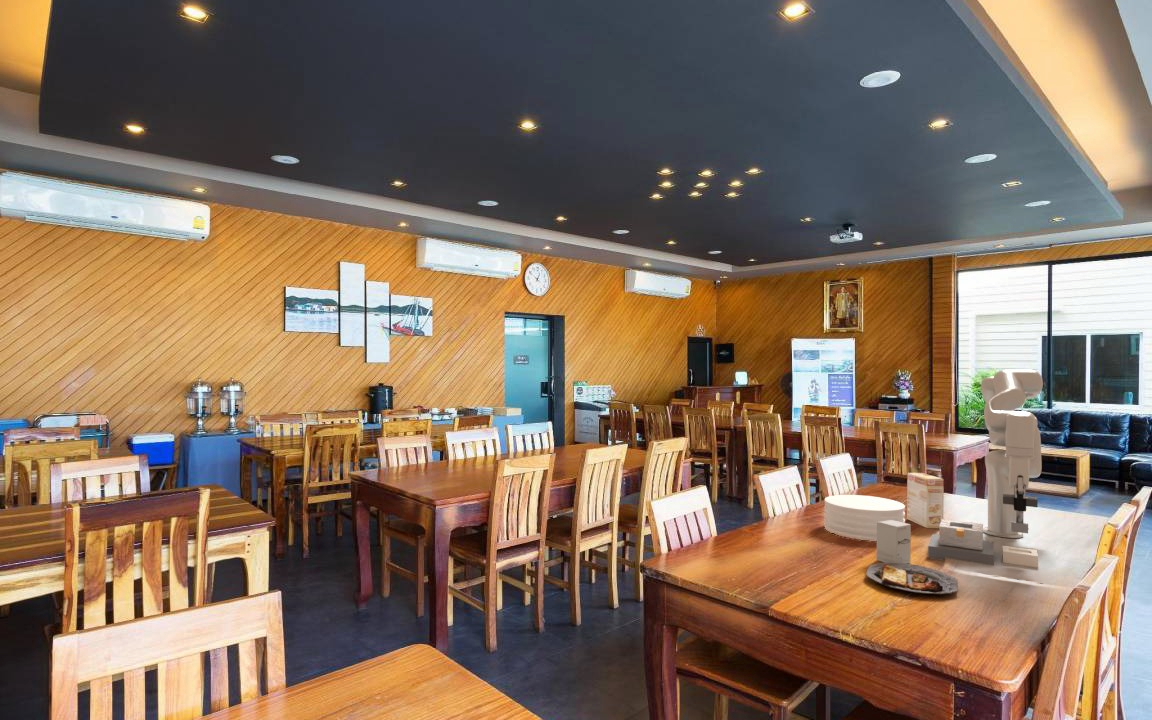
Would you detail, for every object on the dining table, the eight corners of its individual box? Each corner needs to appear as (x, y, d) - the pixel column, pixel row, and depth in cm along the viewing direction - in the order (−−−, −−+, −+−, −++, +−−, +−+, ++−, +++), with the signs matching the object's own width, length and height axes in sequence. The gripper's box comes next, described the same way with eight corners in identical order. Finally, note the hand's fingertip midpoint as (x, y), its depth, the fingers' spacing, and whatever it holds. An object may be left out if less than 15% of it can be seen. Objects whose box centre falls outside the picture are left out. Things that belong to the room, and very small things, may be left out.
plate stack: (908, 529, 243) (908, 500, 244) (901, 546, 220) (901, 514, 220) (831, 519, 258) (831, 492, 259) (817, 534, 235) (817, 504, 235)
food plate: (957, 606, 165) (957, 593, 165) (861, 589, 177) (861, 577, 177) (958, 579, 186) (958, 567, 186) (872, 566, 198) (872, 555, 198)
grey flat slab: (932, 545, 221) (932, 534, 221) (993, 554, 211) (993, 542, 211) (928, 558, 206) (928, 545, 206) (993, 568, 196) (993, 555, 196)
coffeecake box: (944, 528, 245) (944, 478, 245) (926, 528, 245) (926, 478, 245) (923, 519, 260) (923, 472, 260) (906, 519, 260) (906, 472, 260)
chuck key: (1002, 528, 205) (1002, 493, 205) (1036, 532, 200) (1036, 497, 200) (1002, 531, 201) (1002, 496, 201) (1037, 536, 196) (1037, 499, 196)
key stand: (1002, 559, 206) (1002, 545, 206) (1036, 564, 201) (1036, 550, 201) (1003, 565, 199) (1003, 551, 199) (1038, 570, 194) (1038, 556, 194)
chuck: (941, 536, 217) (941, 519, 217) (982, 541, 210) (982, 524, 210) (938, 546, 204) (938, 528, 205) (982, 552, 198) (982, 533, 198)
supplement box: (896, 566, 197) (896, 526, 197) (875, 560, 203) (875, 521, 204) (911, 563, 200) (911, 524, 200) (890, 557, 207) (890, 519, 207)
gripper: (1005, 448, 209) (1005, 502, 209) (1006, 454, 195) (1005, 513, 195) (1032, 450, 205) (1032, 505, 205) (1035, 456, 191) (1035, 516, 191)
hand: (1019, 508), depth 200 cm, fingers closed on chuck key, 4 cm apart
